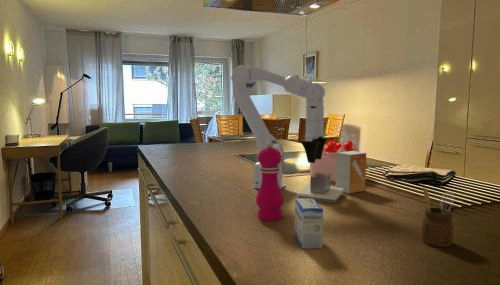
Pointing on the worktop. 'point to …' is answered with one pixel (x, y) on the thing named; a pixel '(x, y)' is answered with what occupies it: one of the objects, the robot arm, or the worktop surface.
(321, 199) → the plate
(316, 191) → the housing
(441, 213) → the utensil holder
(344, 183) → the small box
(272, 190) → the pepper mill
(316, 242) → the medicine box
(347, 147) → the cake
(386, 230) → the worktop surface
